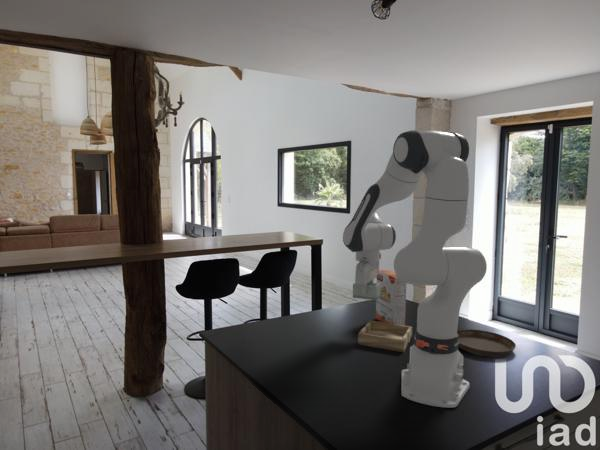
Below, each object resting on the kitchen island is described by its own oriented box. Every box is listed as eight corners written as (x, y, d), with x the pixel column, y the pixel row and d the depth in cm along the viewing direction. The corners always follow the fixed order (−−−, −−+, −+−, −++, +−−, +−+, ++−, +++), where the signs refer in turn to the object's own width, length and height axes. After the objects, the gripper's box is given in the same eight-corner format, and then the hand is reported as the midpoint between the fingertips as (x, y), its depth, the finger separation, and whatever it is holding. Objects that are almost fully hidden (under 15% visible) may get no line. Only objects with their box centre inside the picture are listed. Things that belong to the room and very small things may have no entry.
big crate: (403, 352, 141) (404, 340, 141) (357, 344, 148) (358, 333, 148) (411, 337, 156) (412, 326, 156) (369, 330, 162) (370, 320, 162)
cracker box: (374, 318, 177) (376, 270, 175) (387, 317, 179) (388, 269, 177) (392, 329, 164) (394, 277, 162) (405, 328, 166) (407, 276, 164)
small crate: (376, 300, 153) (376, 286, 153) (352, 297, 157) (352, 284, 156) (380, 296, 158) (380, 283, 158) (357, 294, 162) (357, 281, 162)
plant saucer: (518, 345, 150) (519, 336, 150) (510, 365, 133) (511, 355, 132) (458, 333, 161) (459, 325, 161) (444, 350, 144) (444, 341, 144)
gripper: (368, 260, 146) (367, 299, 147) (382, 253, 165) (381, 288, 165) (351, 258, 148) (350, 297, 149) (366, 252, 167) (365, 286, 168)
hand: (366, 292), depth 157 cm, fingers closed on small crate, 6 cm apart
